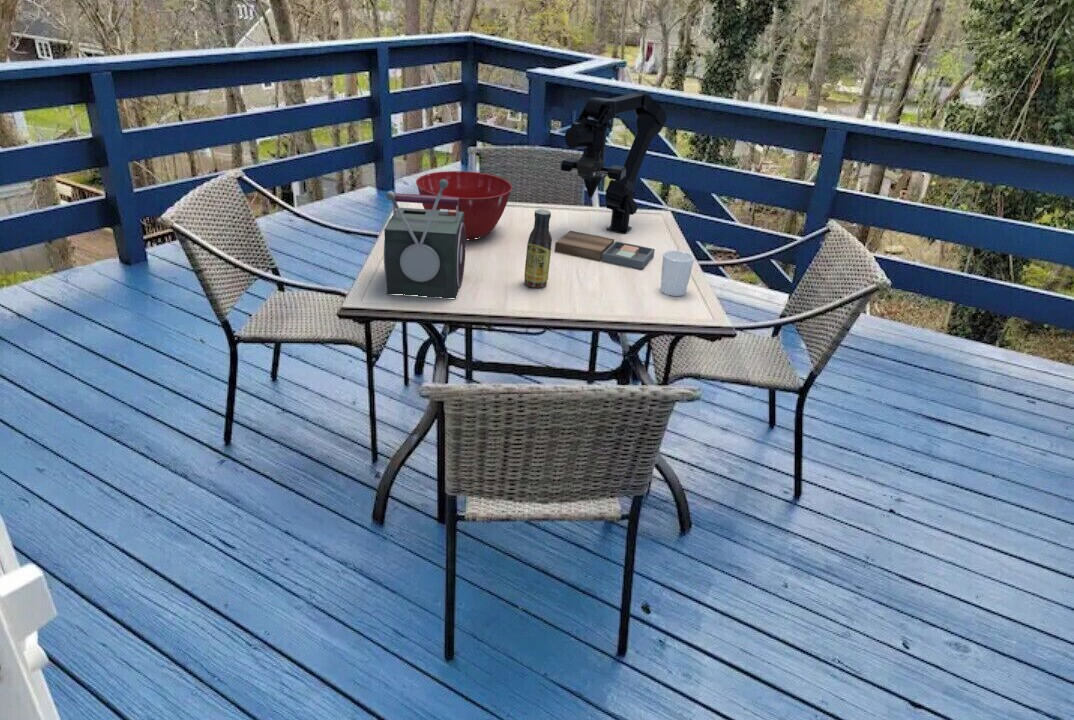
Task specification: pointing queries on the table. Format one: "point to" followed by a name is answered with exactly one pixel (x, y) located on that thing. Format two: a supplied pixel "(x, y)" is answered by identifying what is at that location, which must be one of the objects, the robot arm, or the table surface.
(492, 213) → the mixing bowl
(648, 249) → the tray
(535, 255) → the sauce bottle
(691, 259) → the white cup
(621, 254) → the sage tile
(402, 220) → the boombox
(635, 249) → the terracotta tile
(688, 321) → the table surface
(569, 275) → the table surface
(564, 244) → the walnut board
